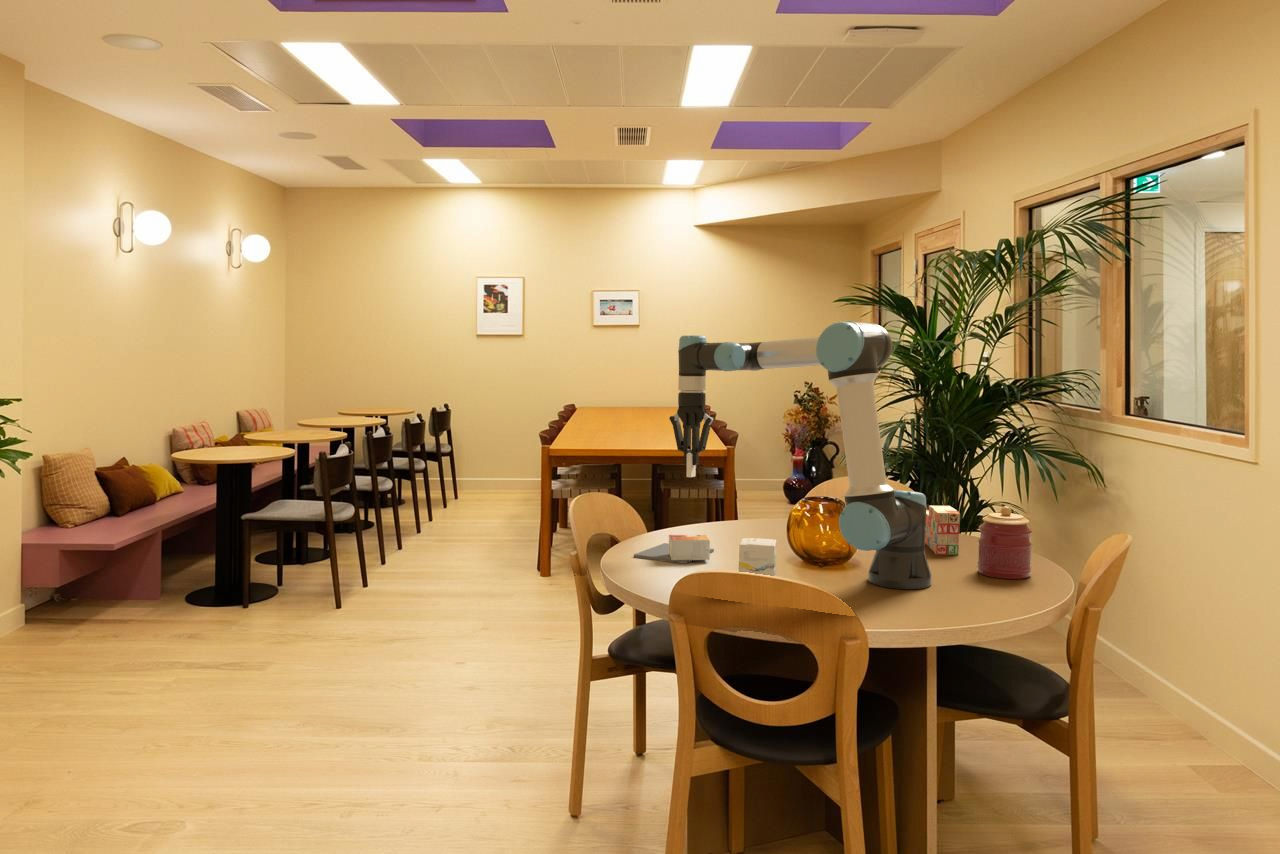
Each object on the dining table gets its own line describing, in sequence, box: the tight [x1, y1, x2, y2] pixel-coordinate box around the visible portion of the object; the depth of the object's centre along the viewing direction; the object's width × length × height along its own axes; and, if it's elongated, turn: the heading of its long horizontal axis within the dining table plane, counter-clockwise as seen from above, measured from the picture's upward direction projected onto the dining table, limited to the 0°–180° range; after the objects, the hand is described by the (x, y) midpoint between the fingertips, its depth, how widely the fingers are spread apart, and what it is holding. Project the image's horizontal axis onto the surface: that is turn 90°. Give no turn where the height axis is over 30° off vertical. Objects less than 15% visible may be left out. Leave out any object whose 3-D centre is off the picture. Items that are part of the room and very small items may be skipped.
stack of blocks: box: [925, 505, 961, 556], centre depth 275 cm, size 21×6×12 cm, turn 174°
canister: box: [976, 505, 1034, 580], centre depth 241 cm, size 13×13×18 cm
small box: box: [668, 534, 711, 561], centre depth 256 cm, size 8×6×10 cm
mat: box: [633, 542, 715, 564], centre depth 263 cm, size 16×18×1 cm
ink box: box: [738, 537, 777, 576], centre depth 225 cm, size 8×8×12 cm
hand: (691, 476), depth 259 cm, fingers closed
